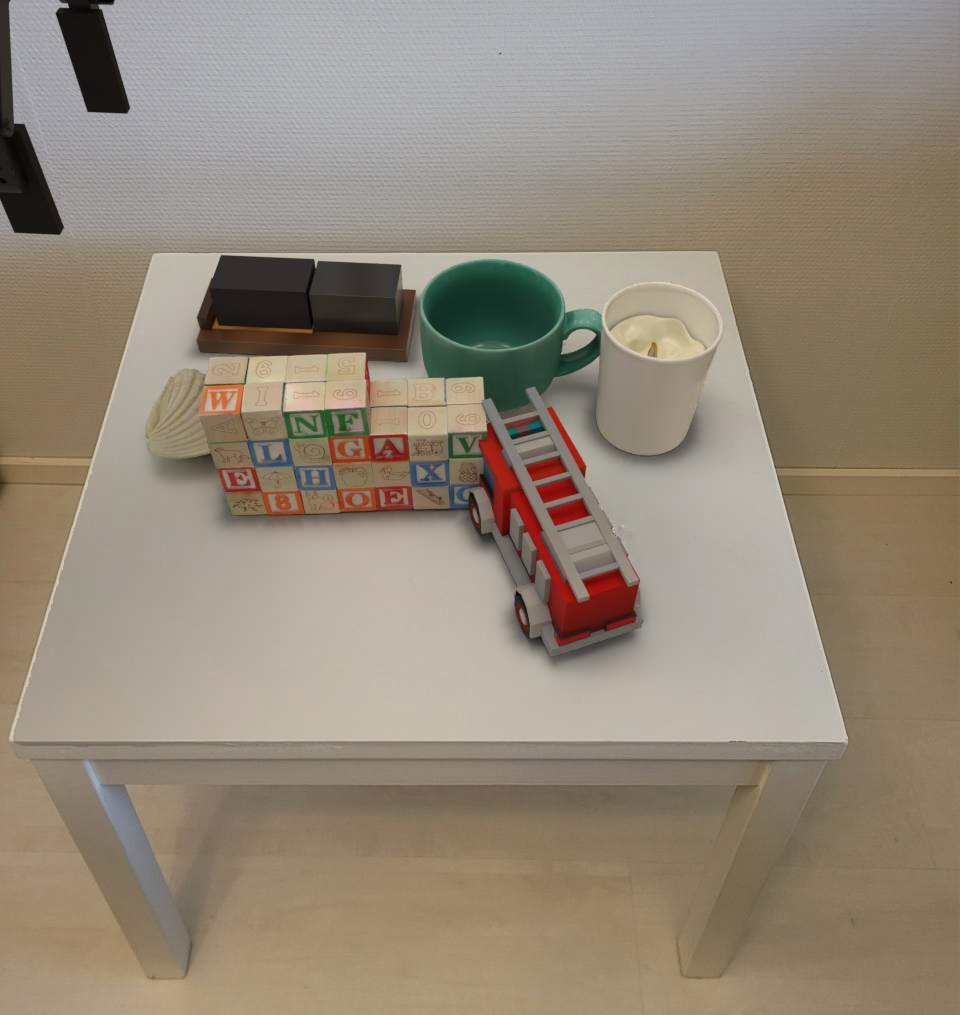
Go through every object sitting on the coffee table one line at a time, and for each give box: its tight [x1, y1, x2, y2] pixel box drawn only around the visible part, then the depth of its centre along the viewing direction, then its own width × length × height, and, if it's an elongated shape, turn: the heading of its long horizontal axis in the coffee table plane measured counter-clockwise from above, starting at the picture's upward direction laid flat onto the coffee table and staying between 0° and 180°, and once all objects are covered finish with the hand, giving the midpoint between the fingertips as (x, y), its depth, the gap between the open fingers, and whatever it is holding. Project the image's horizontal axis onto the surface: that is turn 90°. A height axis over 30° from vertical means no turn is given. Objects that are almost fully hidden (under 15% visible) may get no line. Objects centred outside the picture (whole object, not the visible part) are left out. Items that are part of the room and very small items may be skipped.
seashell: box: [144, 368, 211, 460], centre depth 83 cm, size 8×8×8 cm
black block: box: [209, 254, 316, 330], centre depth 92 cm, size 9×5×4 cm, turn 87°
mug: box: [418, 258, 602, 413], centre depth 86 cm, size 17×13×10 cm
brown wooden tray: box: [196, 260, 417, 363], centre depth 92 cm, size 20×9×6 cm, turn 87°
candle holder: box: [595, 281, 725, 456], centre depth 82 cm, size 10×10×12 cm
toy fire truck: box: [468, 387, 644, 658], centre depth 73 cm, size 9×19×10 cm, turn 20°
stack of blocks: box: [199, 353, 488, 516], centre depth 77 cm, size 21×6×12 cm, turn 92°
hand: (76, 166), depth 61 cm, fingers open, 13 cm apart
